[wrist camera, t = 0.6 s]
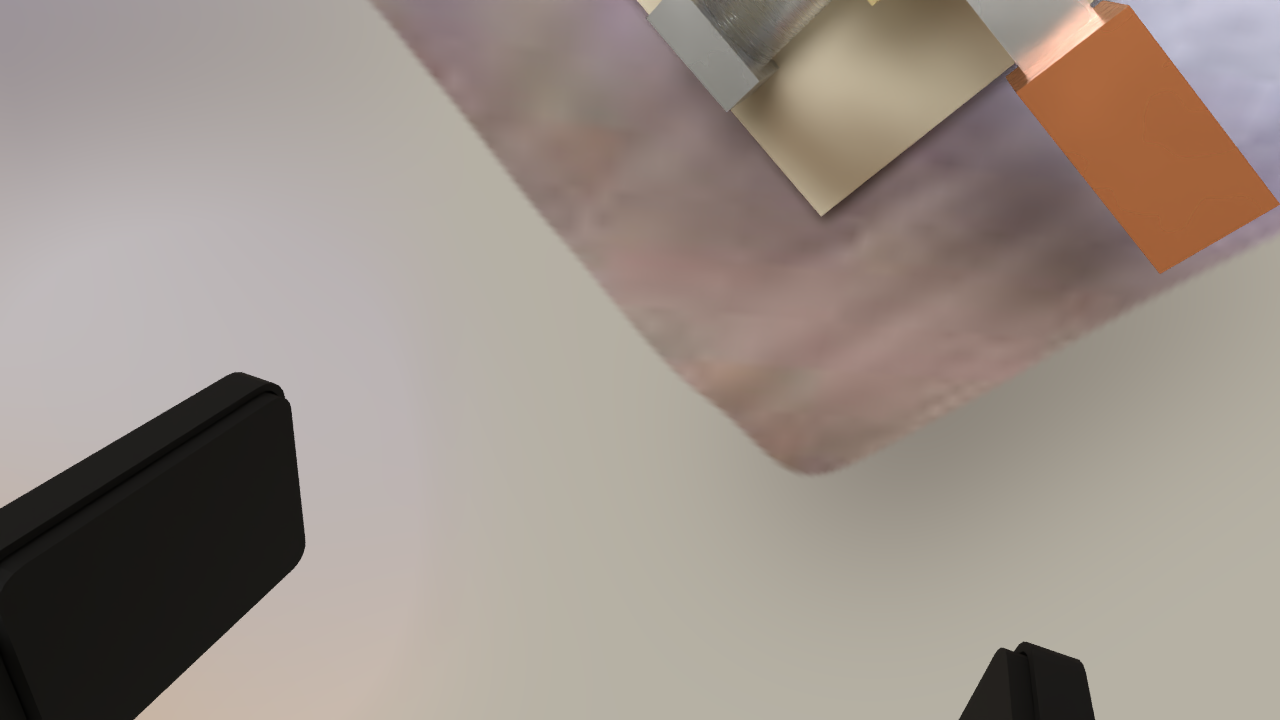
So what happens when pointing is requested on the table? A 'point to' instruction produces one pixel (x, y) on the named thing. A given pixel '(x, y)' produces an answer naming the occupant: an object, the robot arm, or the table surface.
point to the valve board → (866, 88)
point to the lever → (1128, 123)
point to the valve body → (732, 39)
